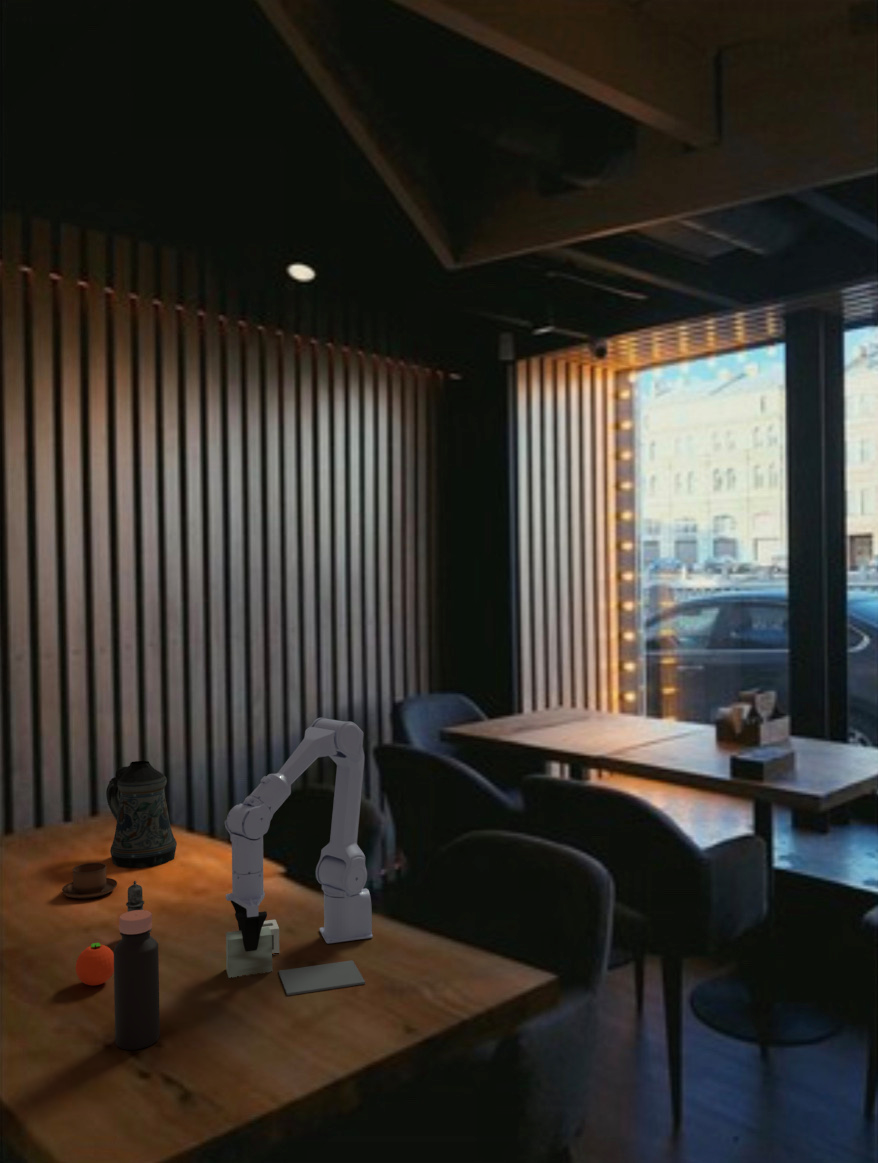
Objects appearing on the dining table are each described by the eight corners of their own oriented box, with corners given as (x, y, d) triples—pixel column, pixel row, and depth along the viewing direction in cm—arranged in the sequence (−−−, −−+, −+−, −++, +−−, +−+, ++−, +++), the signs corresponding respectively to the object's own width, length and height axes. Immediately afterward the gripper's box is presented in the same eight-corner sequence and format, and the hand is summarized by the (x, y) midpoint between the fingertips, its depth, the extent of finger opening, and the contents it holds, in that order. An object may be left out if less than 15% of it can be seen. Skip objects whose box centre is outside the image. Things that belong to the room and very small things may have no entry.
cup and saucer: (50, 899, 219) (50, 872, 218) (88, 883, 230) (87, 857, 230) (92, 905, 214) (91, 878, 214) (128, 888, 225) (127, 862, 225)
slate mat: (352, 962, 181) (352, 960, 181) (365, 983, 171) (365, 981, 171) (278, 972, 177) (278, 970, 177) (287, 995, 167) (287, 993, 167)
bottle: (135, 1055, 147) (133, 926, 147) (105, 1044, 151) (103, 917, 150) (169, 1036, 153) (167, 912, 153) (140, 1026, 156) (138, 904, 156)
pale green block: (269, 963, 181) (268, 926, 181) (272, 972, 177) (271, 934, 177) (226, 969, 179) (225, 932, 178) (228, 978, 175) (227, 940, 175)
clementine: (74, 977, 176) (74, 939, 176) (114, 970, 178) (113, 933, 178) (76, 995, 168) (76, 955, 168) (118, 988, 171) (117, 948, 171)
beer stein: (166, 868, 240) (164, 769, 239) (89, 869, 240) (87, 770, 240) (184, 849, 256) (183, 756, 256) (112, 849, 256) (110, 757, 256)
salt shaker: (141, 946, 190) (140, 886, 190) (114, 944, 191) (113, 884, 191) (156, 934, 196) (155, 876, 196) (130, 933, 197) (129, 875, 197)
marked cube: (275, 944, 190) (275, 918, 190) (279, 954, 185) (279, 928, 185) (250, 947, 189) (250, 921, 189) (253, 957, 184) (253, 931, 184)
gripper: (222, 860, 183) (222, 931, 183) (229, 884, 169) (230, 960, 170) (259, 857, 185) (260, 926, 186) (269, 879, 172) (270, 955, 172)
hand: (248, 942), depth 178 cm, fingers open, 7 cm apart
